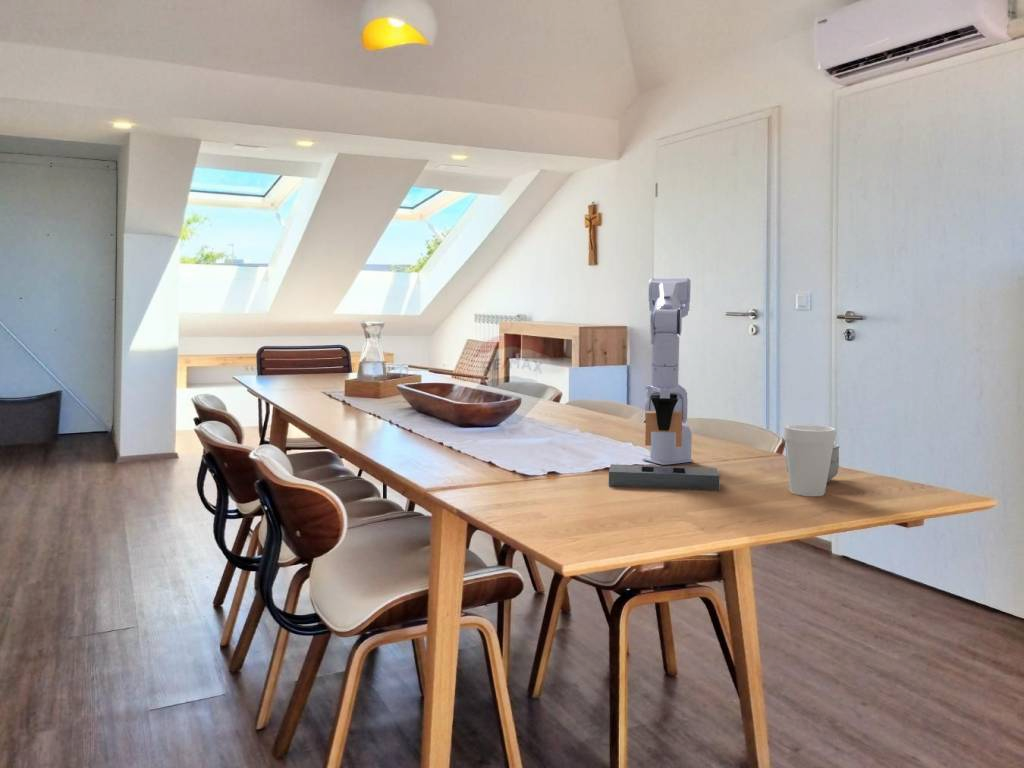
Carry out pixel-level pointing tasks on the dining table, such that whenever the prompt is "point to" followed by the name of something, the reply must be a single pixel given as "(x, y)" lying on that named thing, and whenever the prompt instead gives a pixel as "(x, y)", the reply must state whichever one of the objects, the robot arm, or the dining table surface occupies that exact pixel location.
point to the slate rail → (664, 477)
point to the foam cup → (809, 457)
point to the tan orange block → (653, 427)
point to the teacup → (833, 463)
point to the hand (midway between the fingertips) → (663, 428)
